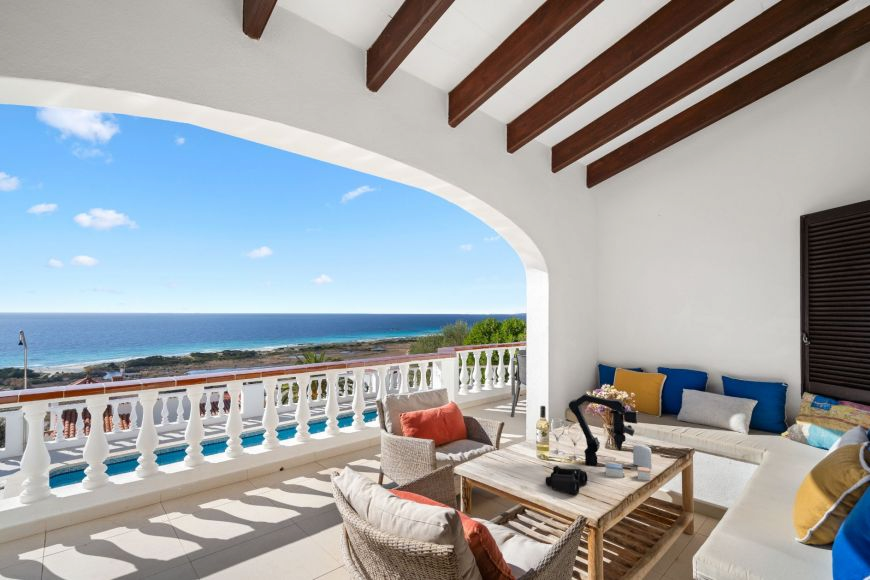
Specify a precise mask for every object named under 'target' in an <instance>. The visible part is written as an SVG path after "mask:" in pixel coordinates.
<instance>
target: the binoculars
mask: <svg viewBox="0 0 870 580" xmlns="http://www.w3.org/2000/svg"><path fill="white" fill-rule="evenodd" d="M545 484H546V485H547V486H549V487H550V486H551V489H552V490H556V491H560V492H563V493H568V494H571V495H578V494H579V492H580V487H581V486H582V485H584V486H585V485H587V484H588V473H587V471H585V470H582V469H580V468H564V467H563V468H562V467H560V466H558V465H555V466H553V468H552V472H551V473H550V476H546V477H545Z"/></svg>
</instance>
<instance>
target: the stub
mask: <svg viewBox="0 0 870 580" xmlns="http://www.w3.org/2000/svg"><path fill="white" fill-rule="evenodd" d="M636 469H637V479H638V480H644V481H651V480H652V479H651V478H652V477H651V469H649V468H645V467H641V466H637V467H636Z"/></svg>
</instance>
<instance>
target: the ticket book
mask: <svg viewBox="0 0 870 580" xmlns="http://www.w3.org/2000/svg"><path fill="white" fill-rule="evenodd" d="M604 467H605V476H609V477H616V478H626V475H625V473H624V467H623V464H620V463H612V462H605V465H604Z"/></svg>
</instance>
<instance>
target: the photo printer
mask: <svg viewBox="0 0 870 580" xmlns="http://www.w3.org/2000/svg"><path fill="white" fill-rule="evenodd" d="M632 455H633V457H632V458H633V459H632V460H633V462H632V463H633V465H635V466H637V467H645V468H649V469H650V470H651V469H652V468H653V466H652V465H653V464H652V463H653V462H652V461H653V460H652V457H653V456H652V449H651V448H650V447H649V446H646V445H643V444H634V445H633V446H632Z"/></svg>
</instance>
